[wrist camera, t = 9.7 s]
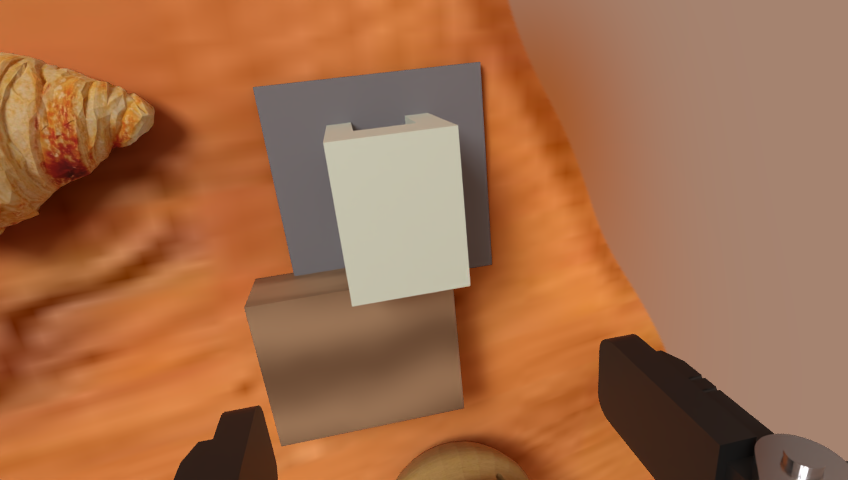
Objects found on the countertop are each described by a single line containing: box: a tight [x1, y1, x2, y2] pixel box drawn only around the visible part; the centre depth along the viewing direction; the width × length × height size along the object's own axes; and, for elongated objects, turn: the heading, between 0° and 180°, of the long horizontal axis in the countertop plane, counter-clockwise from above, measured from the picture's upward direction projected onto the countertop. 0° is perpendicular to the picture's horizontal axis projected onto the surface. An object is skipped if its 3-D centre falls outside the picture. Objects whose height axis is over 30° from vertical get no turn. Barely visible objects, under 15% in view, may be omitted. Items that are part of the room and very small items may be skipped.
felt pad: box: [253, 62, 492, 276], centre depth 29 cm, size 13×13×1 cm
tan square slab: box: [244, 268, 464, 446], centre depth 31 cm, size 10×12×4 cm
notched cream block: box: [323, 113, 470, 307], centre depth 25 cm, size 6×8×8 cm
